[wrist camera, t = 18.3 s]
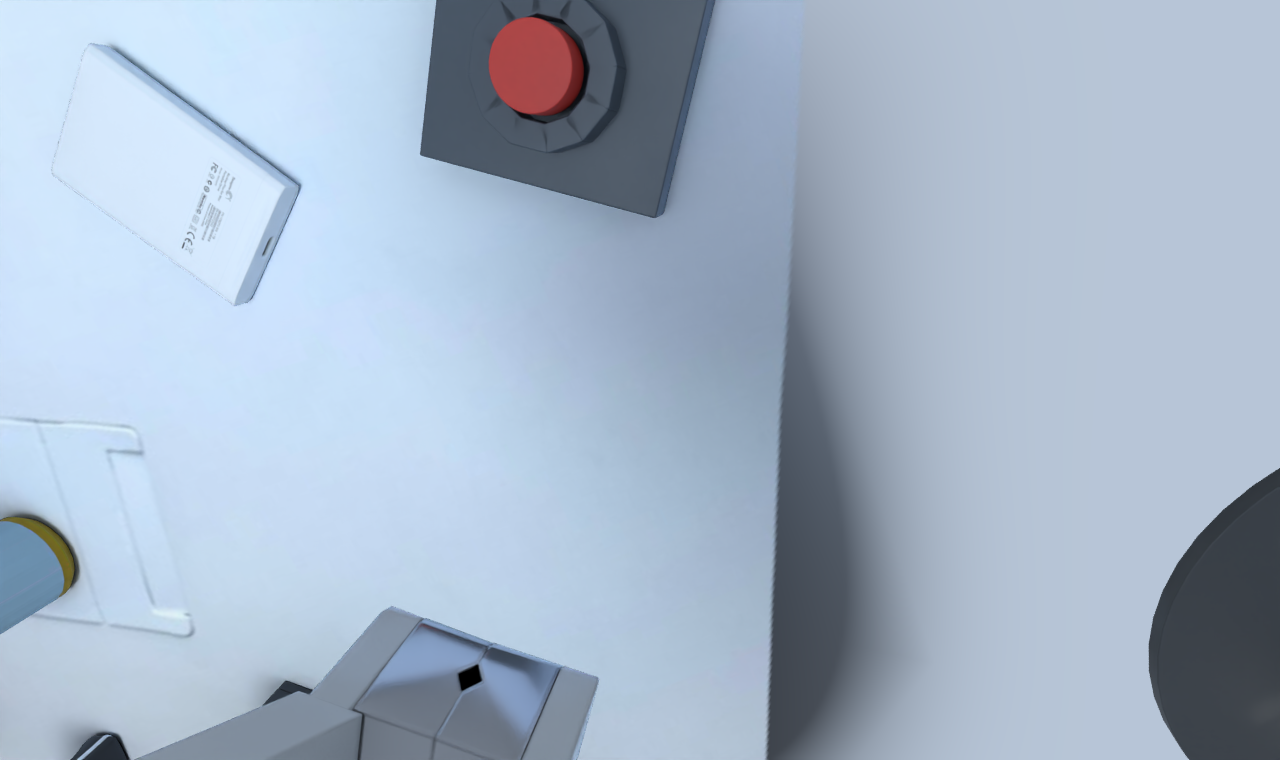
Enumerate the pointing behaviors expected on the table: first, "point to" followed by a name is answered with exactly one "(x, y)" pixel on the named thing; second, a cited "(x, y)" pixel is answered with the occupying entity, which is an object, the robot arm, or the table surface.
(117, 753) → the battery charger
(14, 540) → the bottle
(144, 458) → the table surface
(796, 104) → the table surface
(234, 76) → the table surface
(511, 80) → the button
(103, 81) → the hard drive
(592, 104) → the control block
